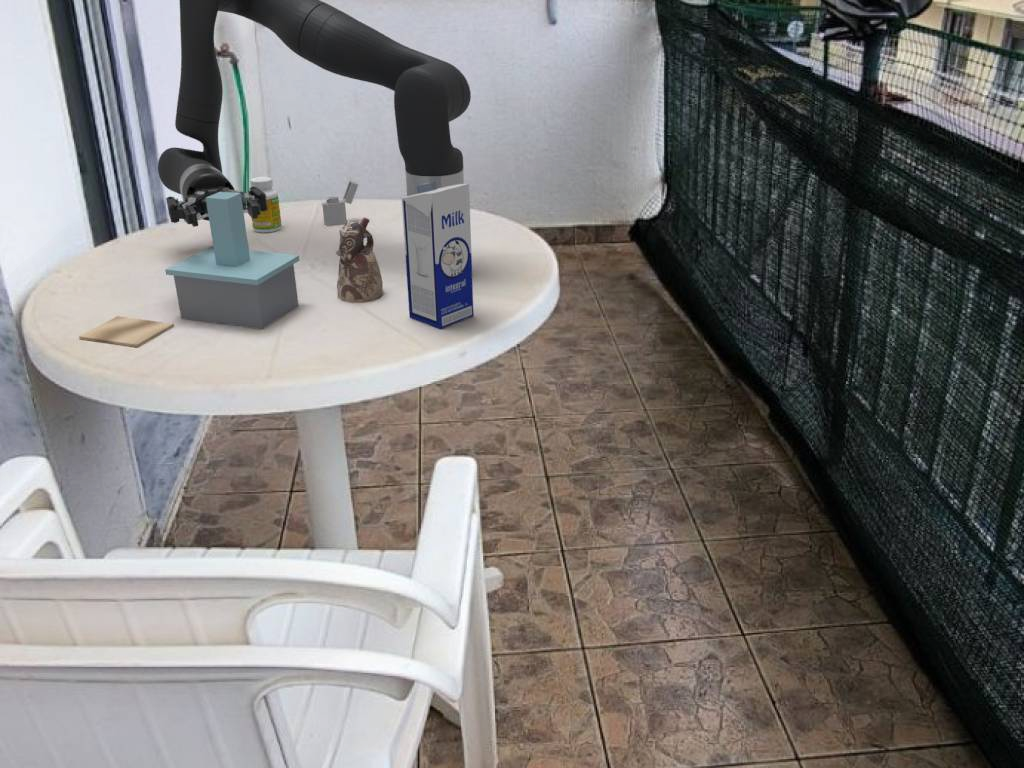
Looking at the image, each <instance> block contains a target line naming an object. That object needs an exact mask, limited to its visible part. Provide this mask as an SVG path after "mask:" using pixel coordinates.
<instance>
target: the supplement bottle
mask: <svg viewBox="0 0 1024 768" xmlns="http://www.w3.org/2000/svg"><path fill="white" fill-rule="evenodd" d="M251 187H257V188H258V189H260V190H261V191H262V192H264V193H265V194H266V202H267V208H268V210H267V211H260V212H261V214H260V215H257V216H258V218H256V219H252V218H251V221H252V223H251V225H252V229H253V231H254V232H256V233H265V234H266V233H273V232H277V231H279V230H282V218H281V217H282V216H281V209H280V201H279V194H278V190H276V189H275V188H273V178H272V177H270V176H257V177H254V178H250V188H251Z"/></svg>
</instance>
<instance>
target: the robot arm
mask: <svg viewBox="0 0 1024 768" xmlns="http://www.w3.org/2000/svg"><path fill="white" fill-rule="evenodd" d="M218 12H223V13H228V14H229V13H230V14H233V15H237V16H239V17H243V18H246V19H248V20H250V21H252V22H255V23H257V24H259V25H262V27H263V26H264V27H265V28H267V29H269V30H270V31H271V32H273V33H274V34H275V35H276V36H277V37H278V38H279V40H280V41H281V42H282V43H283V44H284V45H285V46H286V47H287V48H288V49H290V50H291V51H292V52H293V53H295V54H296V55H297V56H299V57H300V58H302V59H304V60H306V61H308V62H310V63H312V64H313V65H315V66H317V67H319V68H321V69H322V70H325V71H327V72H329V73H331V74H332V73H333V74H335V75H339V76H342V77H345V78H349V79H353V80H357V81H361V82H366V83H371V84H373V85H374V84H375V85H378V86H382V87H384V88H387V89H388V90H391V91H393V92H394V95H393V97H394V98H393V108H394V109H393V110H394V117H395V127H396V135H397V143H398V149H399V152H400V155H401V157H402V159H403V162H404V168H405V184H406V185H405V186H406V197H407V196H411V195H415V194H418V191H417V187H416V186H418V185H422V184H425V183H430V182H435V181H436V185H437V189H438V188H443V187H448V186H452V185H457V184H465V181H464V180H465V178H464V174H465V173H464V156H463V153H462V151H461V150H460V149H459V148H457V147H454V145H453V143H452V140H451V130H450V122H452V121H454V120H457V118H459V117H461V116H462V114H464V113H465V112H466V111H467V109H468V108H469V106H470V103H471V99H472V98H471V97H472V96H471V89H470V84H469V82H468V80H467V79H466V76H465V75H464V74H463V72H461V70H459V69H458V67H456V66H455V65H453V64H451V63H449V62H447V61H445V60H442V59H440V58H436V57H434V56H431V55H429V54H426V53H423V52H421V51H418V50H416V49H413V48H410V47H408V46H406V45H405V44H402V43H400V42H398V41H396V40H394V39H392V38H390V37H388V36H387V35H385V34H384V33H382V32H380V31H378V30H377V29H375V28H373V27H371V26H369V25H367V24H365V23H364V22H361V21H360V20H357V19H356V18H354V17H353V16H351V15H349V14H348V13H346V12H344V11H342V10H340V9H338V8H336V7H335V6H332V5H331V4H328V3H327V2H325V1H322V0H179V25H180V26H179V28H180V55H181V56H180V57H181V58H180V61H181V63H180V77H179V78H180V80H179V87H178V96H177V103H176V114H175V119H174V121H175V122H174V125H175V129H176V131H177V132H178V133H179V134H181V135H184V136H185V137H188V138H190V139H193V140H196V141H198V142H200V143H201V144H202V149H203V150H202V151H199V150H194V149H189V148H183V147H169V148H167V149H165V150H164V151H163V152H162V153H161V154H160V156H159V159H158V162H157V173H158V176H159V179H160V181H161V183H162V184H163V186H165V188H166V189H168V190H170V191H171V192H174V193H176V194H177V195H178V194H179V195H181V198H182V200H179V198H175V197H174V196H167V197H165V199H166V206H167V211H168V216H169V219H170V223H174V224H177V223H179V222H180V220H183V221H184V222H185V223H186V224H187V225H191V226H192V227H194V228H195V227H199V222H198V221H201V220H204V221H207V222H209V216H208V210H207V203H206V197H208V196H211V195H213V194H216V193H218V192H231V193H241V198H242V205H243V212H244V214H248V215H249V216H250V218H251V220H252V219H256V218H258V216H257V215H260V214H261V212H260V211H267V210H268V208H267V202H266V194H265V193H264V192H262V191H261V190H260V189H258V188H257V187H251V186H250V187H249V189H248V192H243V190H237V189H235V188H234V186H233V184H232V182H230V180H229V179H228V178H227V177H226V176H225V175H224V173H223V167H222V161H221V160H222V159H221V155H220V153H221V152H220V146H219V128H220V119H221V112H222V104H223V96H224V95H223V94H224V93H223V91H224V90H223V80H222V75H221V70H220V66H219V63H218V58H217V54H216V47H215V26H216V20H217V18H218V17H217V16H218Z"/></svg>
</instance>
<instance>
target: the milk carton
mask: <svg viewBox="0 0 1024 768" xmlns="http://www.w3.org/2000/svg"><path fill="white" fill-rule="evenodd" d="M416 187H417V191H418V194H415V195H411V196H407V195H406V196H404V197H401V198H400V199H401V205H402V206H401V208H402V209H401V210H402V223H403V236H404V237H403V238H404V240H403V241H404V253H405V268H406V271H405V272H406V282H407V300H408V312H409V314H408V315H409V319H412V320H415V321H418V322H420V323H422V324H425V325H427V326H431V327H434V328H436V329H438V330H441V329H444V328H447V327H449V326H452V325H455V324H457V323H459V322H462V321H464V320H467V319H469V318H472V317H474V292H473V289H474V288H473V286H474V285H473V261H472V260H473V259H472V258H473V257H472V237H471V236H472V233H471V231H472V230H471V206H470V203H471V201H470V198H471V197H470V183H464V184H457V185H452V186H448V187H443V188H438V189H437V185H436V181H435V182H430V183H425V184H422V185H418V186H416Z"/></svg>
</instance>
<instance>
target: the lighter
mask: <svg viewBox="0 0 1024 768" xmlns="http://www.w3.org/2000/svg"><path fill="white" fill-rule="evenodd" d="M358 187H359V184H358V183H357V182H356V181H353V180H349V181H348V183H347V188H346V189H345V192H344V195H343V198H342V199H339V197H338V195H337V196H329V197H328V198H326V200H325V201H326V202H322V203H321V206H322V215H323V224H324V226H325V225H326V227H333V225H334V226H339V225H340V224H341V225H345V224H346V223H347V222H348V219H347V210H346V203H347V204H350V205H352V203H353V201H354V197H355V195H356V192H357V189H358ZM341 225H340V226H341Z"/></svg>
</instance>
